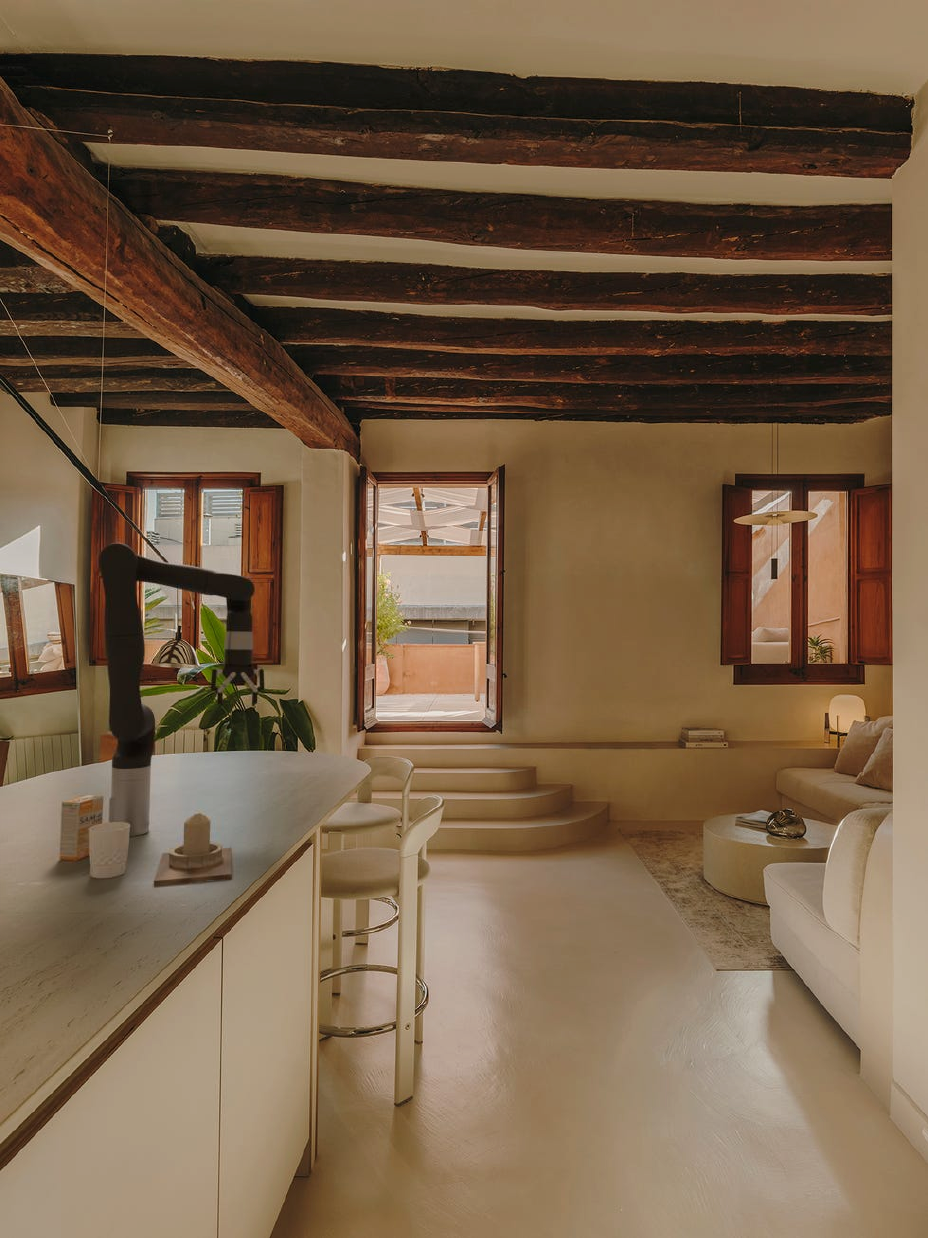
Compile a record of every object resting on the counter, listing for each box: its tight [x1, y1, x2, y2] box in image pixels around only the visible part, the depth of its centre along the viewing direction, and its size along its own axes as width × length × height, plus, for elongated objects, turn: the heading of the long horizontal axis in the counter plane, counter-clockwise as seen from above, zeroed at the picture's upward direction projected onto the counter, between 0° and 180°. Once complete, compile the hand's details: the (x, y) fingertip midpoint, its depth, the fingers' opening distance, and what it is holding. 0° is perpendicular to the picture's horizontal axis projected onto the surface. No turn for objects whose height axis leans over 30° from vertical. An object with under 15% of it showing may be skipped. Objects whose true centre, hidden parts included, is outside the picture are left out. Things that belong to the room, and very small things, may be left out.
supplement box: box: [59, 794, 104, 862], centre depth 162 cm, size 8×5×13 cm, turn 168°
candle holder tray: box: [153, 841, 232, 887], centre depth 154 cm, size 15×20×4 cm
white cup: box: [88, 821, 130, 879], centre depth 150 cm, size 8×8×10 cm
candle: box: [182, 812, 211, 855], centre depth 156 cm, size 6×6×10 cm
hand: (237, 706), depth 195 cm, fingers open, 8 cm apart
